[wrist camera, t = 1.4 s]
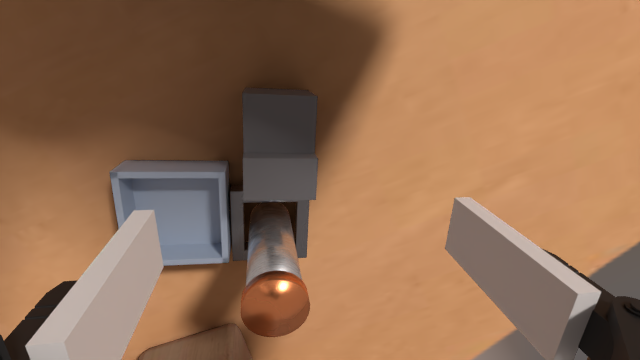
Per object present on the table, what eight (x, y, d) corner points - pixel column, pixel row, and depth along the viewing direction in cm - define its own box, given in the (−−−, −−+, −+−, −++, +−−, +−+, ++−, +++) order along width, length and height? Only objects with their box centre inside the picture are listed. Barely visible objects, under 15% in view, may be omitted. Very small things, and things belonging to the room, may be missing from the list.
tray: (125, 160, 27) (109, 171, 24) (228, 160, 28) (225, 171, 25) (137, 247, 29) (124, 267, 27) (231, 244, 31) (228, 262, 28)
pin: (247, 198, 30) (239, 282, 18) (292, 198, 30) (311, 278, 19) (248, 238, 31) (241, 339, 20) (291, 237, 32) (308, 334, 20)
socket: (231, 185, 29) (230, 191, 28) (307, 184, 30) (309, 190, 29) (234, 251, 31) (232, 260, 30) (304, 248, 32) (306, 257, 31)
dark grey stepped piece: (245, 87, 27) (241, 95, 21) (307, 89, 27) (321, 98, 21) (246, 171, 29) (243, 200, 23) (304, 171, 30) (315, 199, 24)
